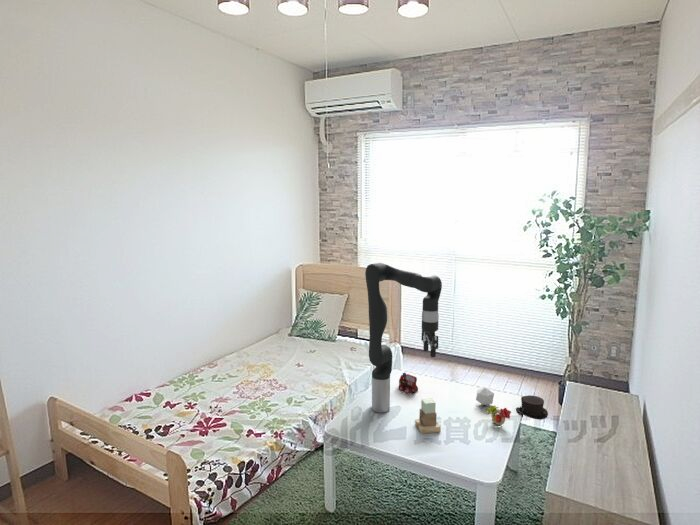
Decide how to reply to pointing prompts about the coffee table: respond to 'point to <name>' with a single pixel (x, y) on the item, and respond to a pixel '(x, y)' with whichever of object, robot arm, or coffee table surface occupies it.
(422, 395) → the coffee table surface
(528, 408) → the top hat
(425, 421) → the walnut block
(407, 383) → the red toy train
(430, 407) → the sage green block
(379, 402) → the robot arm
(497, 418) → the red and green cluster
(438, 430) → the oak plinth
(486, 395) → the die
